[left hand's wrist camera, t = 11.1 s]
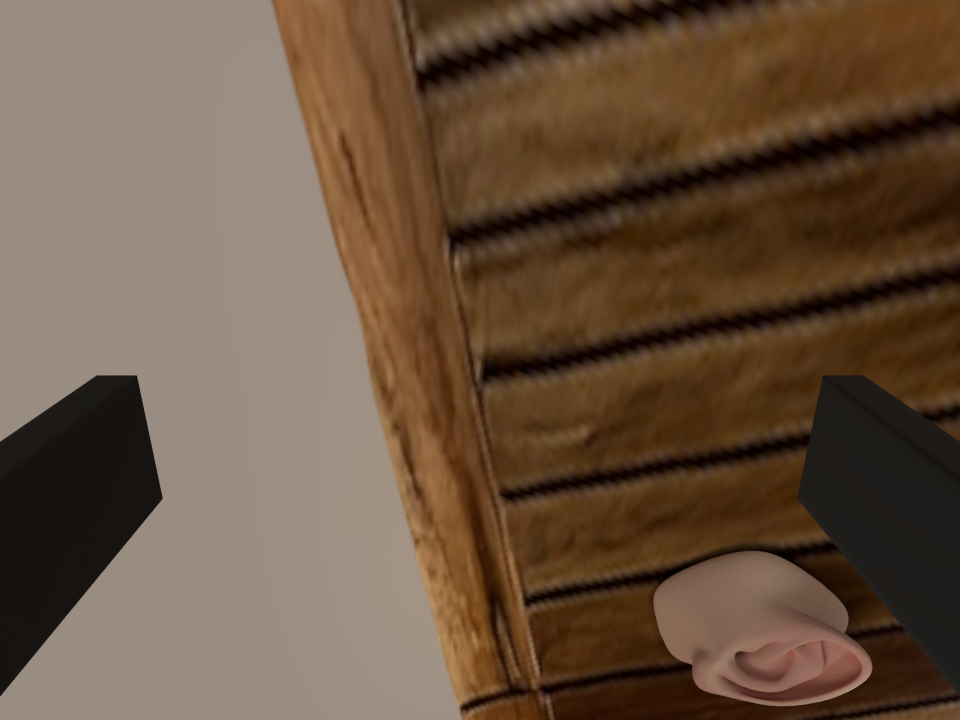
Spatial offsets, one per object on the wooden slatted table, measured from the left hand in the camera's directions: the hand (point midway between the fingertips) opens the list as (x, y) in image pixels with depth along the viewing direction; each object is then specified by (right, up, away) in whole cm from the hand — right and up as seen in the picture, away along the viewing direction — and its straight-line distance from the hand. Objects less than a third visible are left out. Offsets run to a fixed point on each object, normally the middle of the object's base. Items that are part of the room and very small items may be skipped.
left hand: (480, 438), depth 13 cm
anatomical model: (+19, -17, +33) cm, 41 cm away
